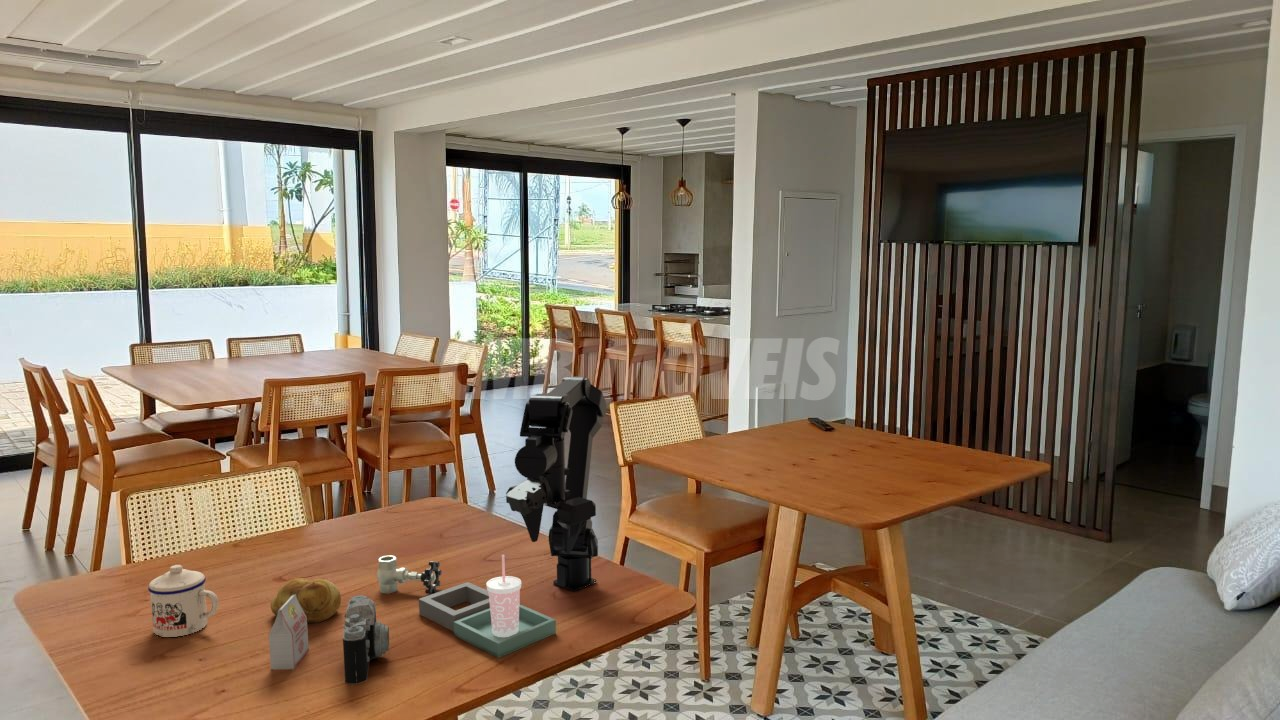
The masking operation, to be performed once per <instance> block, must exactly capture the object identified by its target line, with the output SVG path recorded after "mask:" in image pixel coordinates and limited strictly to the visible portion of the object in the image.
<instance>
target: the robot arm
mask: <svg viewBox="0 0 1280 720" xmlns="http://www.w3.org/2000/svg"><path fill="white" fill-rule="evenodd" d="M606 413H607V401H606V398H605V396H604V394H603V391H602V390H600V389H599V388H598V387H596V386H595V385H593V384H592V383H591V381H590V379H589V377H586V376H566V377H563V378H562V380H561V383H559V384H558V385H557V386H555V387H554V388H553V389H552V390H551V391H549V392H546V393H536V394H535V393H534V394H533V395H531V396H530V397H529V398H528V400H527V401H526V403H525V406H524V411H523V415H522V416H523V417H522V420H521V425H520V426H521V427H520V431H519V437H523V438H525V440H524V441H525V442H524V443H525V445H524V446H522V447H521V448H520V449H519V450H518V451H517V453H516V455H515V457H514V467H515V469H516V470H517V472H518V473H519V474H520V476H522V477H524V478H526V480H525V481H524V482H520V483H519V484H518V485H514V486H510V487H509V488H508V489H507V491H506V492H505V498H506V499H505V502H506V503H507V504H509V507H510V509H511V511H513V512H518V513H519V514H520V515H521V517H522V519H523V521H524V524H525V528H526V529H527V532H528V533H527V534H528V535H529V537H530V538H529V539H530V540H531V542H532V543H535V542H538V540H539V539H538V538H539V535H540V531H541V525H542V524H541V523H542V518H543V511H544V506H546V507H548V508H552V509H556V511H554V513H553V514H552V522H551V523H552V524H551V526H550V528H549V531H548V543H549V544H548V546H549V549H550V550H549V551H550V556H551V557H557V563H556V579H554V580H552V583H553V585H556V586H558V587H561V588H563V589H567V590H569V591H571V592H577V591H579V590H581V589H580V588H582V589H584V588H586V587H585V586H587V585H589V584H592V583H594V582H596V581H597V579H596V578H592V559H593V558H595V557H598V556H599V541H598V538H597V536H596V535H597V534H596V533H595V531H594V529H593V520H592V518H593V517H596V515H597V513H596V512H597V509H596V507H597V505H596V503H595V502H594V501H593V500H591V499H588V488H589V479H590V470H591V469H590V468H591V458H592V450H593V449H592V447H593V439H594V437H595V435H597V433H598V432H599V430H600V429H601V428H602V427H603V426H602V425H603V419H604V418H605V416H606ZM569 432H570V439H569V447H568V458H567V465H566V460H565V459H566V455H565V452H566V451H565V450H566V449H565V436H566V433H569ZM566 466H567V467H566ZM594 580H595V581H594ZM597 582H598V581H597ZM594 584H595V583H594ZM592 585H593V584H592ZM589 586H590V585H589ZM583 587H584V588H583ZM587 587H588V586H587Z"/></svg>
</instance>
